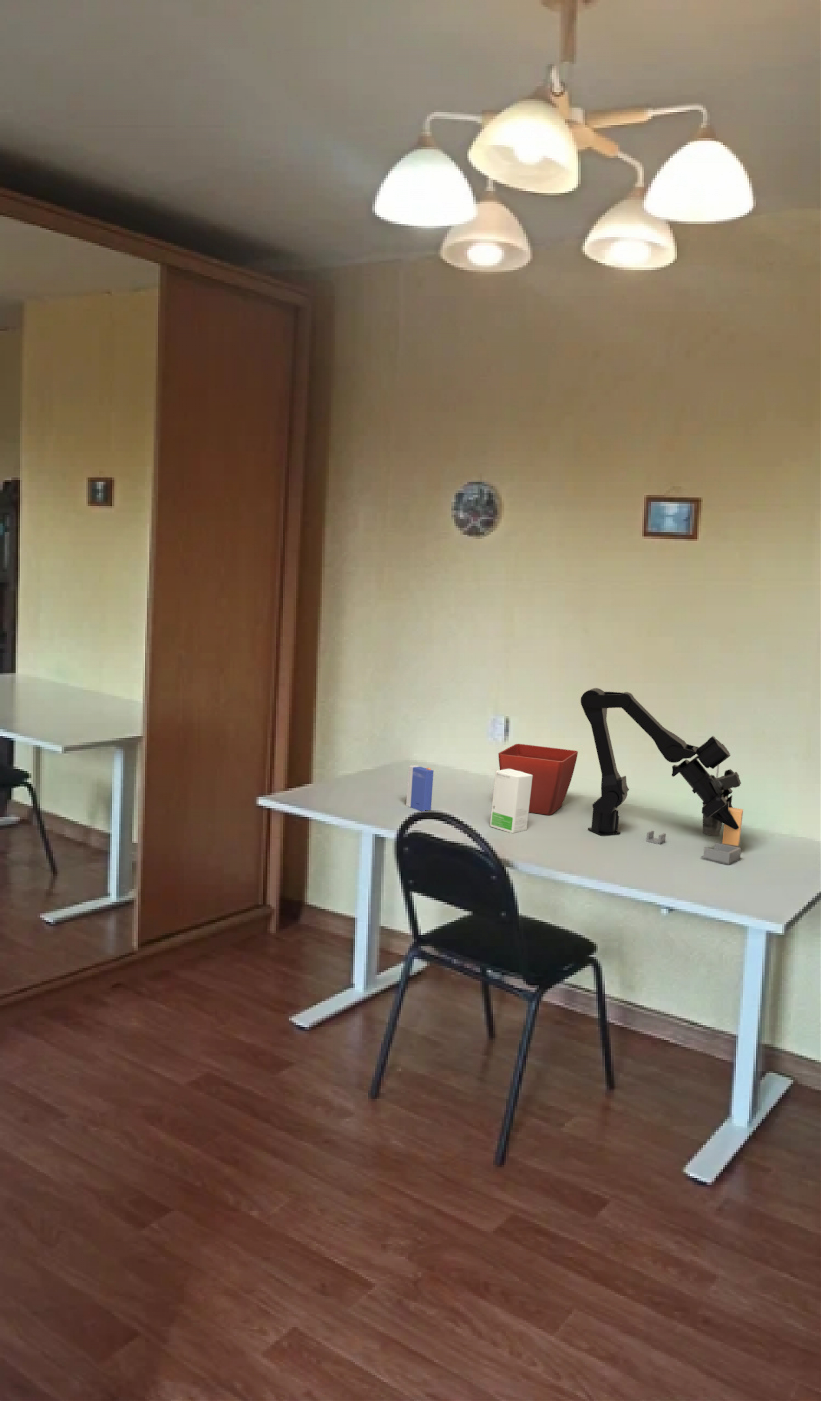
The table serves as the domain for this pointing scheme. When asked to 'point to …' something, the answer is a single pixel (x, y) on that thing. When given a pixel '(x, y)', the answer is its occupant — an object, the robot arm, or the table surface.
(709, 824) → the beverage cup
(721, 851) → the holder
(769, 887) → the table surface
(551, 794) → the plant pot
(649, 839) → the clip
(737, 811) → the plug
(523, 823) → the skincare box
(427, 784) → the walkman
